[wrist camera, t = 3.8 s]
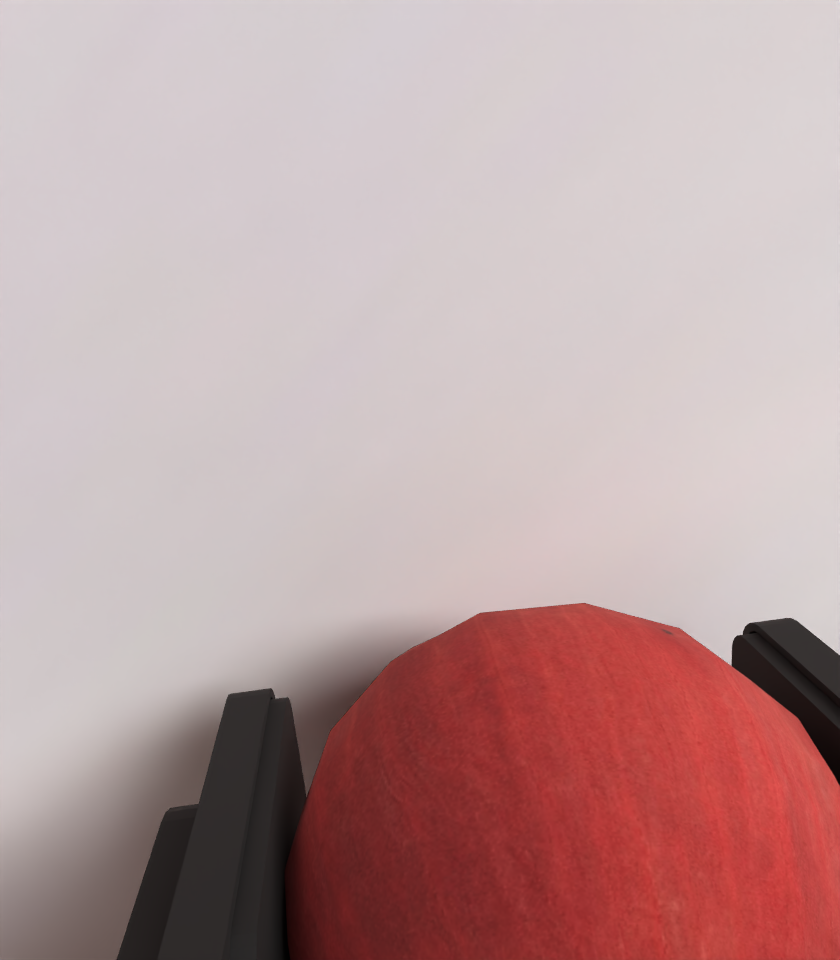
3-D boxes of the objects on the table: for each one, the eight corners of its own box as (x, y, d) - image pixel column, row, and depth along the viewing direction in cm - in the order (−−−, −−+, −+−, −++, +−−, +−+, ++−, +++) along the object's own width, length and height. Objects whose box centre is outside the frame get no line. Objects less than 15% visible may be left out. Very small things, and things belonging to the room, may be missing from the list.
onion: (520, 901, 13) (783, 1882, 5) (229, 737, 11) (-19, 1754, 4) (757, 646, 12) (1534, 1387, 4) (470, 431, 10) (831, 945, 3)
